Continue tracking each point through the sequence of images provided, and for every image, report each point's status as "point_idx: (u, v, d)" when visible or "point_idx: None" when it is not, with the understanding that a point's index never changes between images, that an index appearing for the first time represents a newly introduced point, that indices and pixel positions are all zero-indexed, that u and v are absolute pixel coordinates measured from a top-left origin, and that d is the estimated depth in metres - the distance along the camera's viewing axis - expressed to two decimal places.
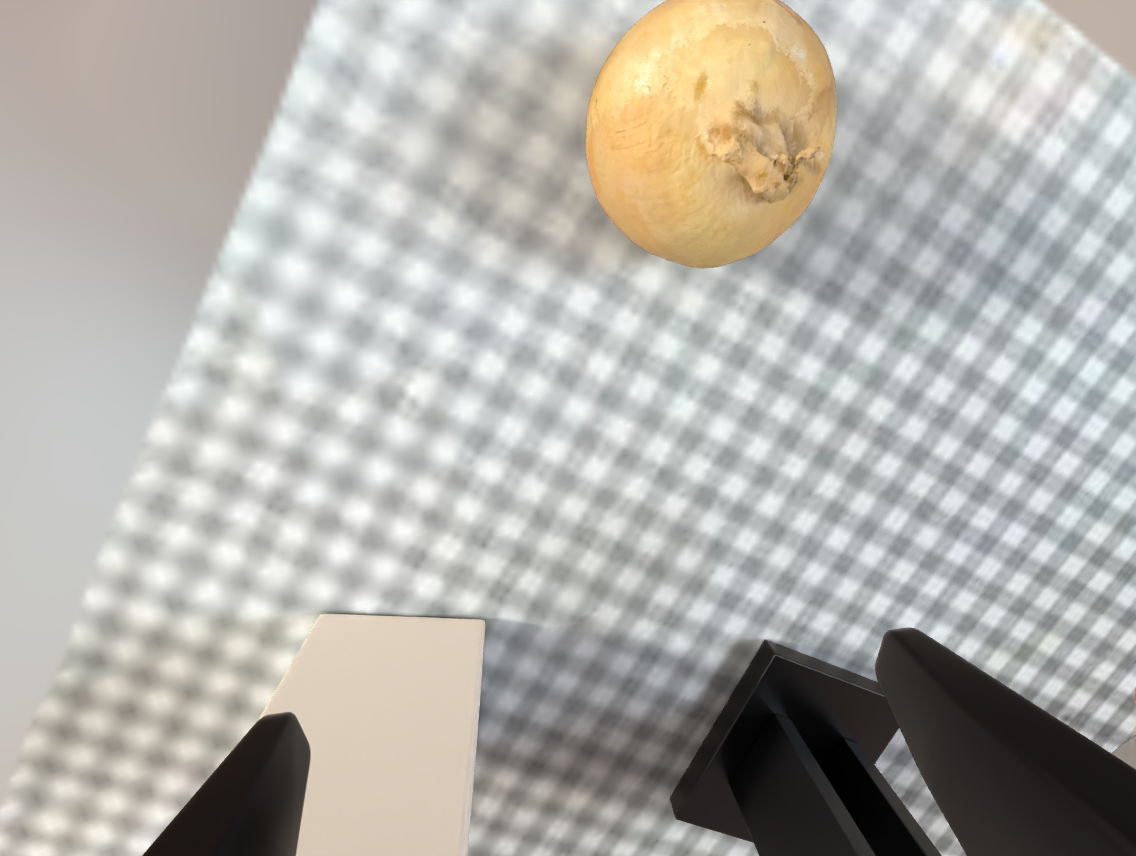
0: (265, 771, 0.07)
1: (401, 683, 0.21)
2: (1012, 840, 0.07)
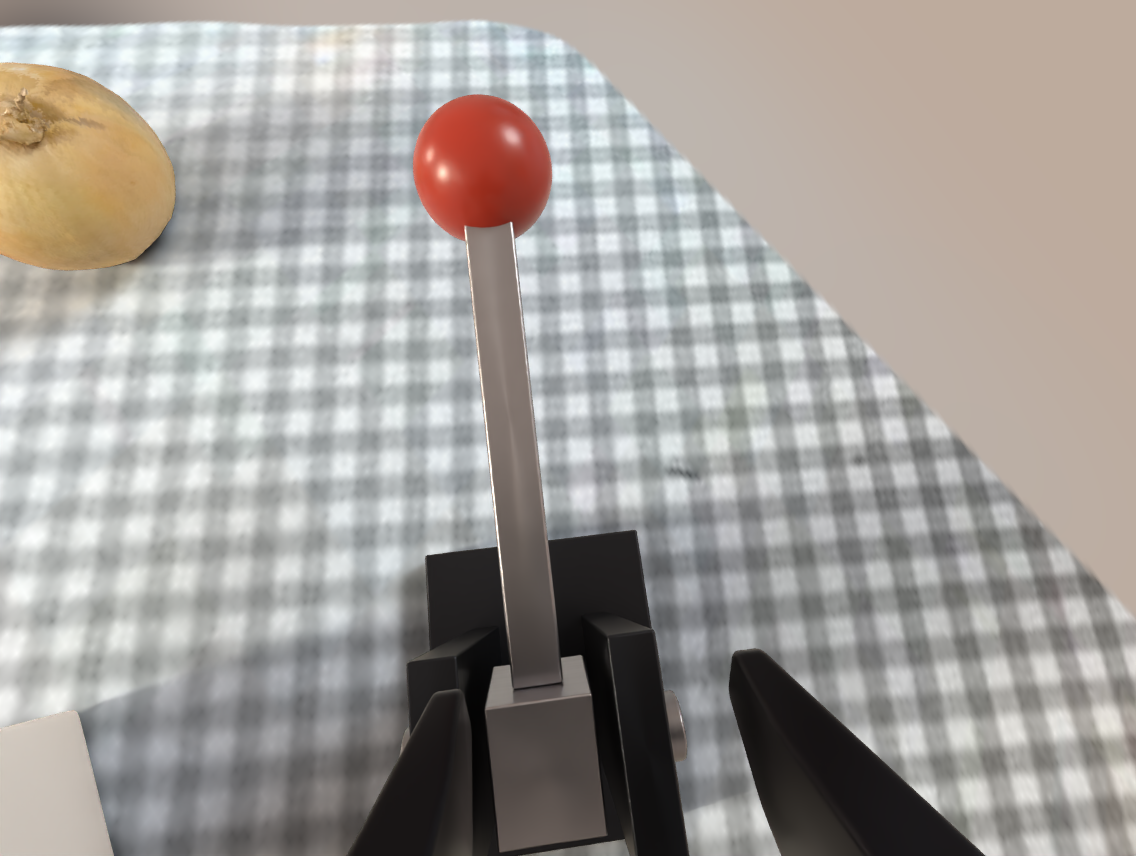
0: (455, 744, 0.07)
1: None
2: None
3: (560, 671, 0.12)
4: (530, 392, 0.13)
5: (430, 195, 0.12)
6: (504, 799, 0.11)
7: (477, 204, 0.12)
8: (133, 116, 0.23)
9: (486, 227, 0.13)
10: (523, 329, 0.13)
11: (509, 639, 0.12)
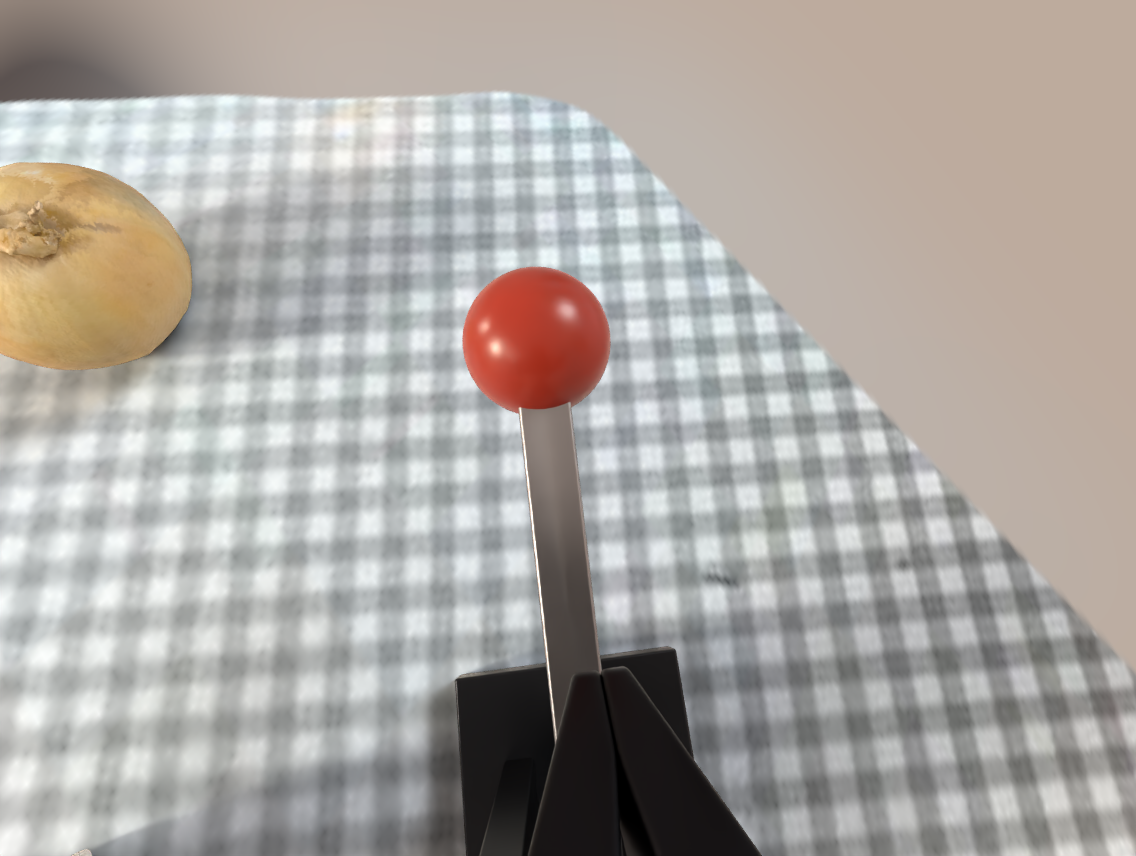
0: (608, 722, 0.07)
1: None
2: None
3: None
4: (591, 589, 0.12)
5: (482, 378, 0.12)
6: None
7: (535, 391, 0.11)
8: (149, 212, 0.22)
9: (542, 409, 0.12)
10: (583, 520, 0.12)
11: None
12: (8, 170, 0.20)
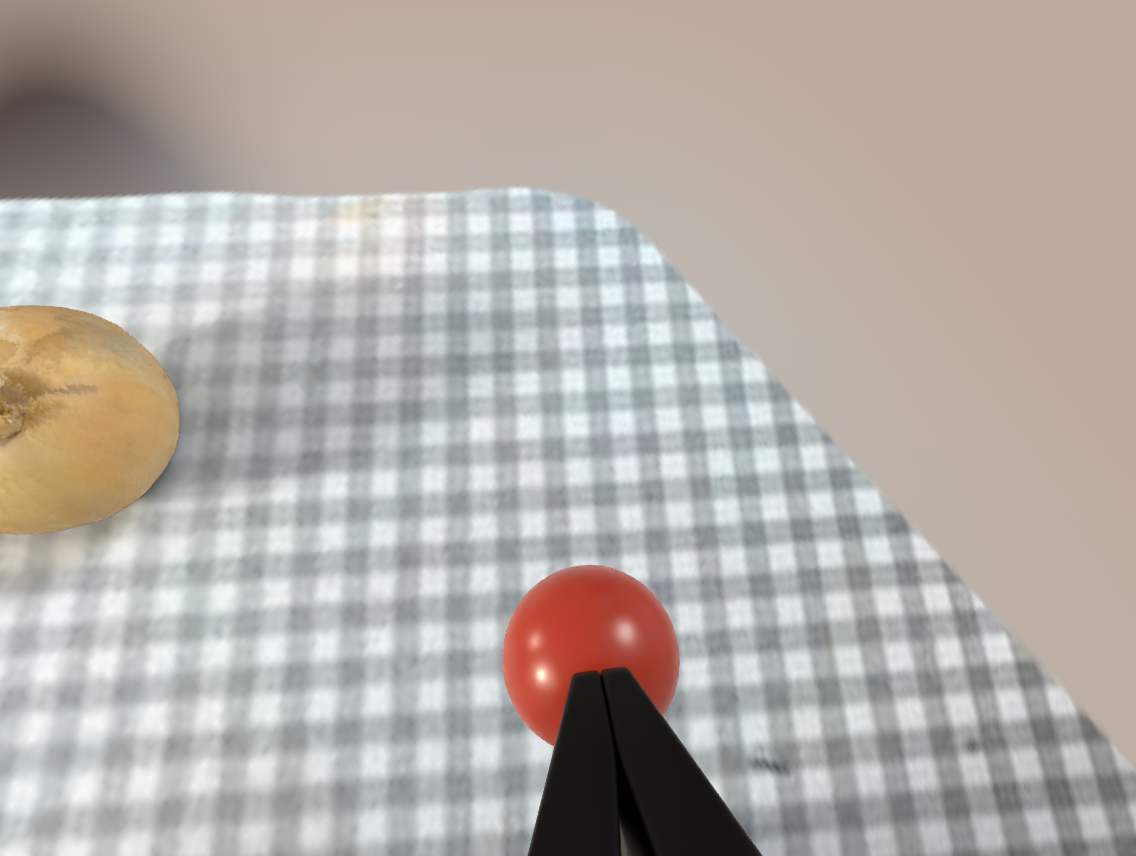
0: (607, 723, 0.07)
1: None
2: None
3: None
4: None
5: (529, 725, 0.10)
6: None
7: None
8: (131, 357, 0.20)
9: None
10: None
11: None
12: None
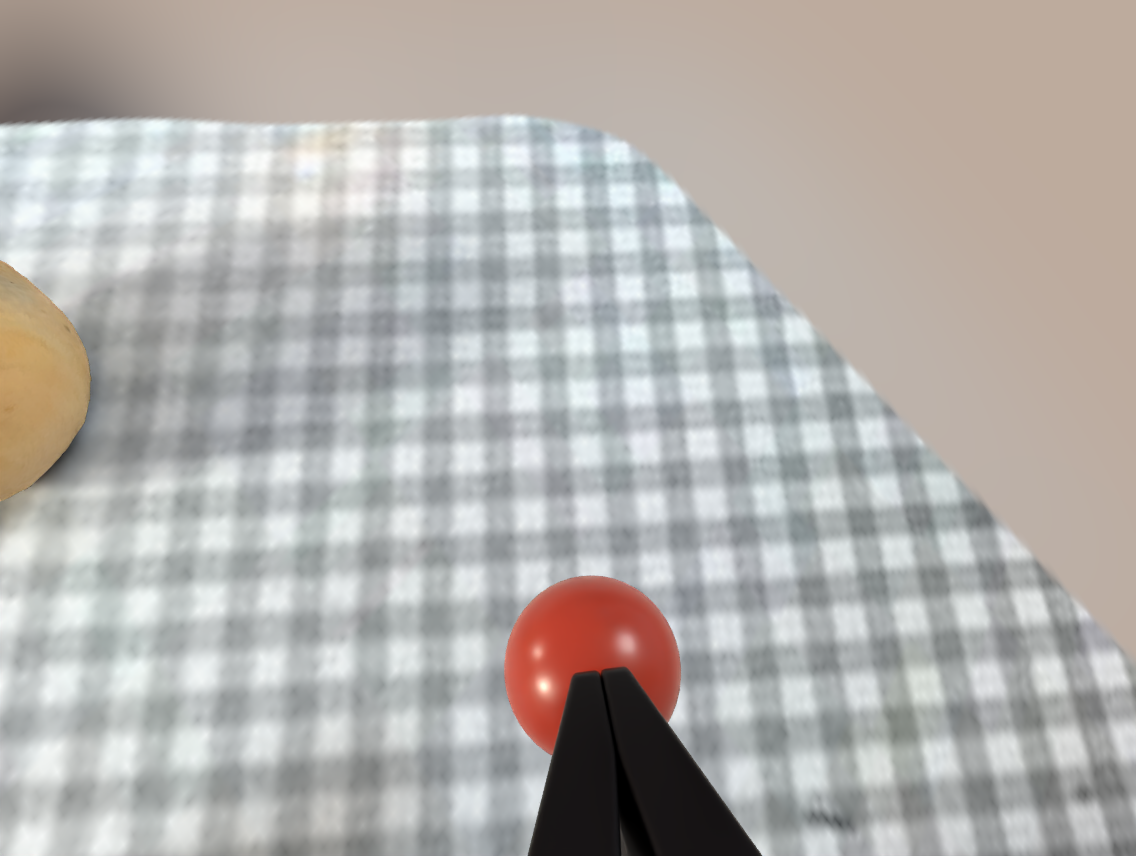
0: (607, 723, 0.07)
1: None
2: None
3: None
4: None
5: (529, 723, 0.09)
6: None
7: None
8: (15, 300, 0.15)
9: None
10: None
11: None
12: None
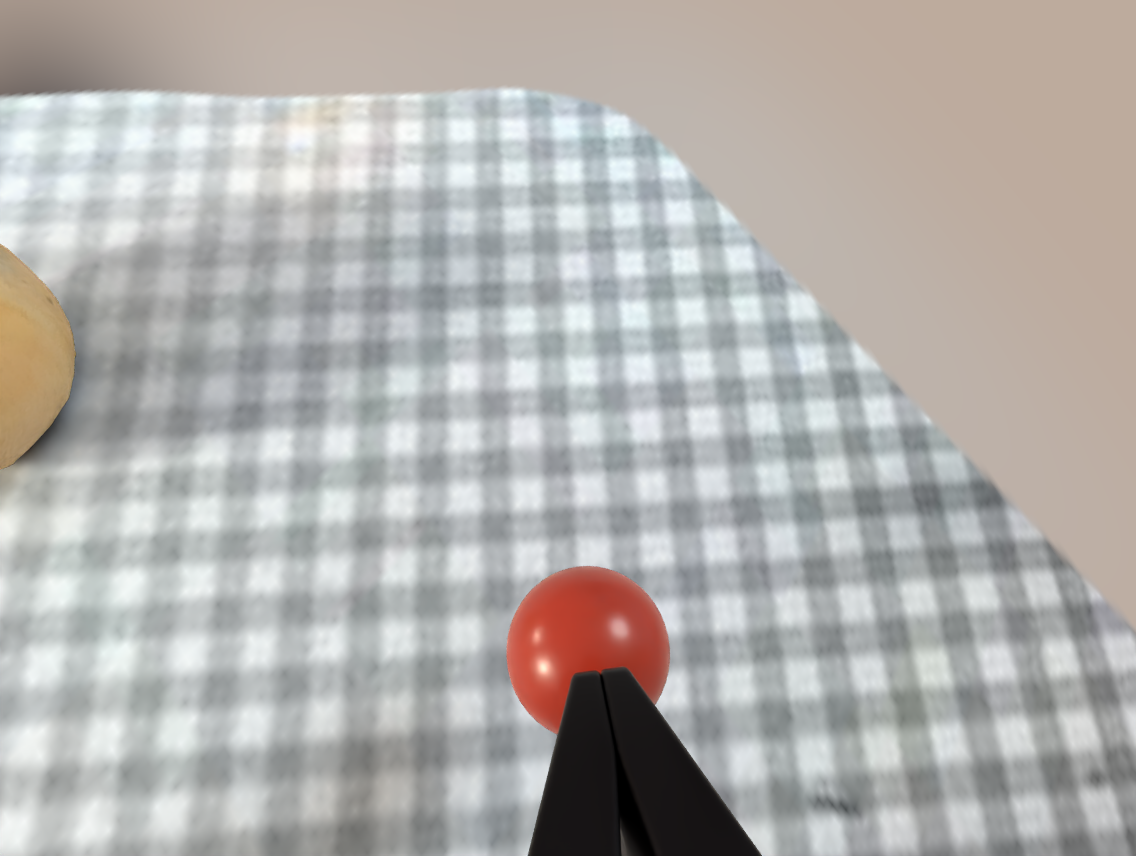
0: (608, 722, 0.07)
1: None
2: None
3: None
4: None
5: (529, 695, 0.10)
6: None
7: None
8: None
9: None
10: None
11: None
12: None
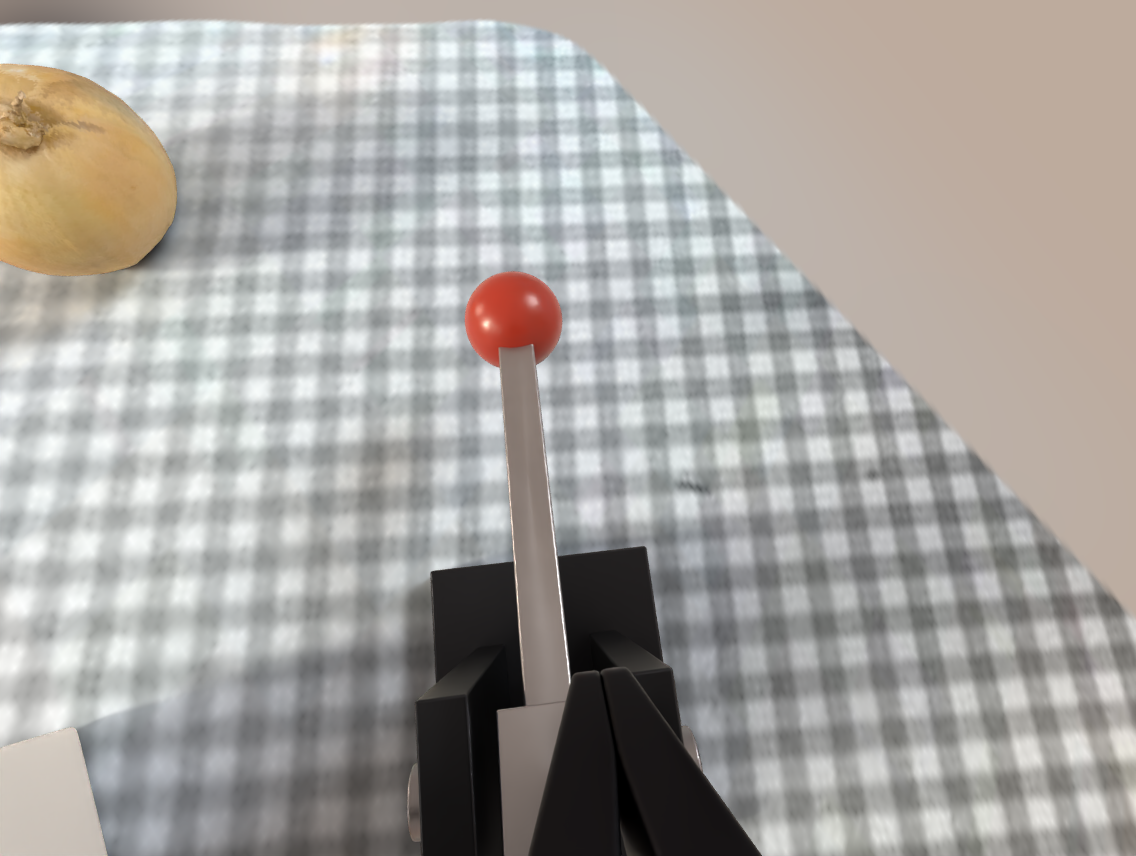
0: (608, 722, 0.07)
1: None
2: None
3: None
4: (544, 452, 0.16)
5: (475, 327, 0.18)
6: (513, 811, 0.11)
7: (508, 329, 0.17)
8: (133, 119, 0.22)
9: (514, 347, 0.18)
10: (540, 410, 0.16)
11: (522, 657, 0.13)
12: None
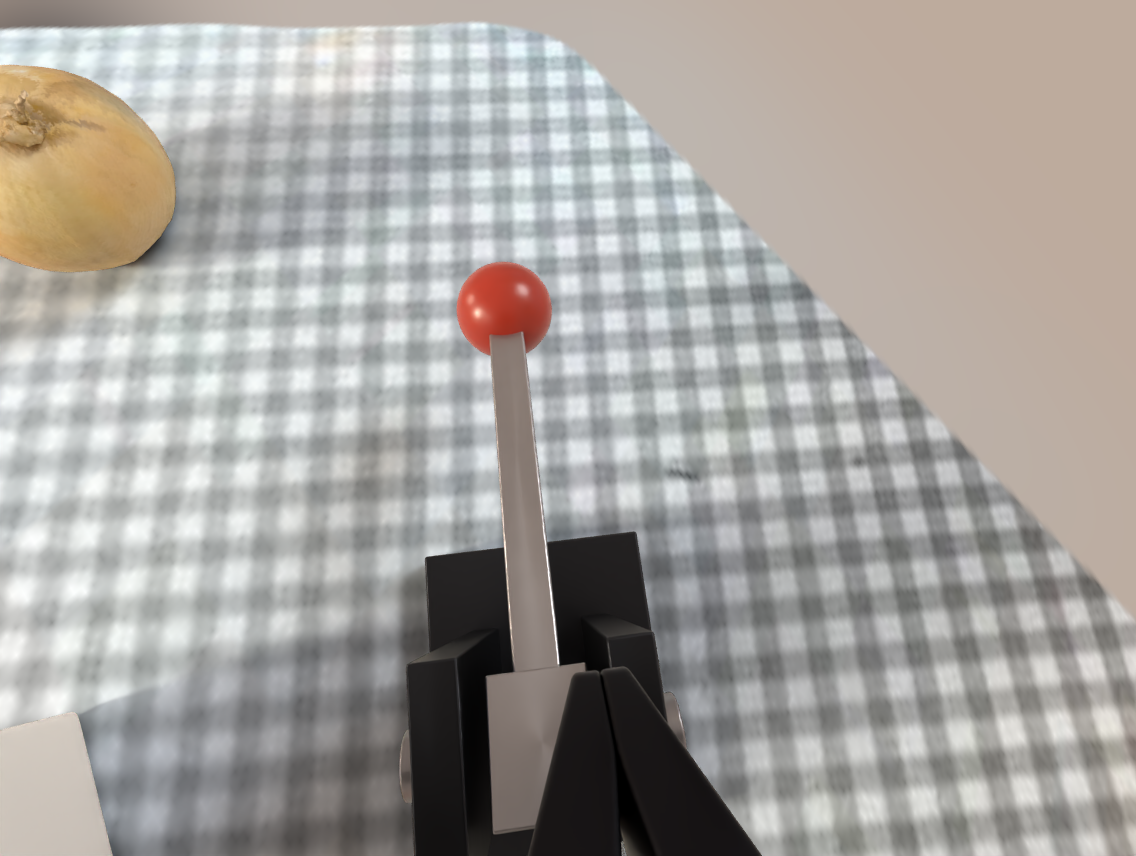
0: (608, 722, 0.07)
1: None
2: None
3: (558, 658, 0.13)
4: (534, 434, 0.16)
5: (467, 316, 0.18)
6: (501, 770, 0.11)
7: (498, 317, 0.18)
8: (133, 118, 0.23)
9: (504, 335, 0.18)
10: (529, 394, 0.17)
11: (511, 627, 0.13)
12: None
